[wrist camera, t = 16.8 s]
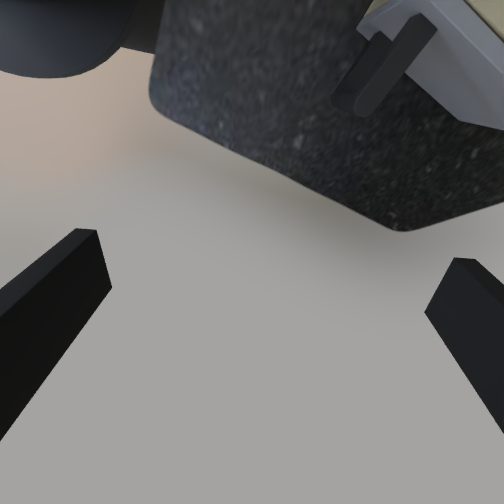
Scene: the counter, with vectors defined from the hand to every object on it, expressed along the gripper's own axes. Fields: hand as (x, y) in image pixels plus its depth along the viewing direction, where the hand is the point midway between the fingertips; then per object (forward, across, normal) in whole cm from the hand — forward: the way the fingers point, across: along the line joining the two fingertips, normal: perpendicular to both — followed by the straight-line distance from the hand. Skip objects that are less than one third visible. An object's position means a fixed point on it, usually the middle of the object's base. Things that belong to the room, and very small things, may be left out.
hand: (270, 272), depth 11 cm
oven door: (+26, +13, +5) cm, 29 cm away
